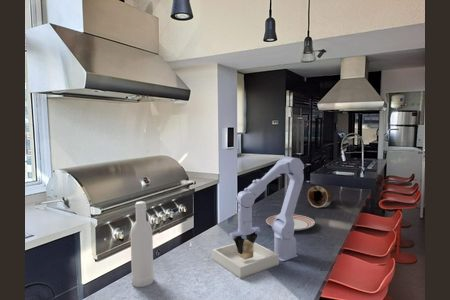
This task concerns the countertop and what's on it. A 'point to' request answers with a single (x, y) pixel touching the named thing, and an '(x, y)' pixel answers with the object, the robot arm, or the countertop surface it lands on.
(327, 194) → the clay pot
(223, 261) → the bin
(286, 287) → the countertop surface
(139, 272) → the bottle
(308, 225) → the dinner plate
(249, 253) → the maple block
